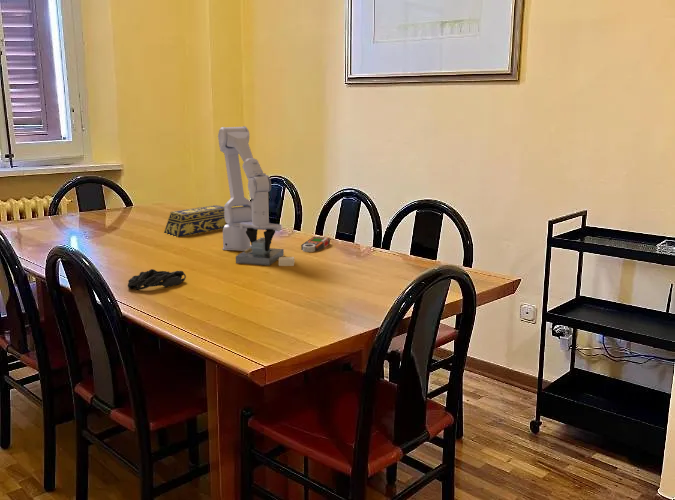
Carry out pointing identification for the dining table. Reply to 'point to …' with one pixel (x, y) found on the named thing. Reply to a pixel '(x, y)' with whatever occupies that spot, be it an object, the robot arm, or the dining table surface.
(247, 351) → the dining table surface
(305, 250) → the electronic device
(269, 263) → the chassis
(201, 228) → the decorative box
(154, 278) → the cable
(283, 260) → the box
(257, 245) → the block
